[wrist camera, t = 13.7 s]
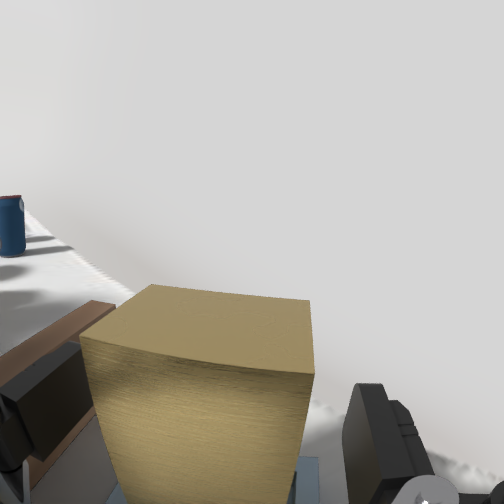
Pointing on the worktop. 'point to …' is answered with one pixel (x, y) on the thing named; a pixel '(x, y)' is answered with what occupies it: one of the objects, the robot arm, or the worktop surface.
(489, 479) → the worktop surface
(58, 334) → the board
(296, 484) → the socket
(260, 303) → the block
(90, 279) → the worktop surface
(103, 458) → the worktop surface
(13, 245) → the soda can
